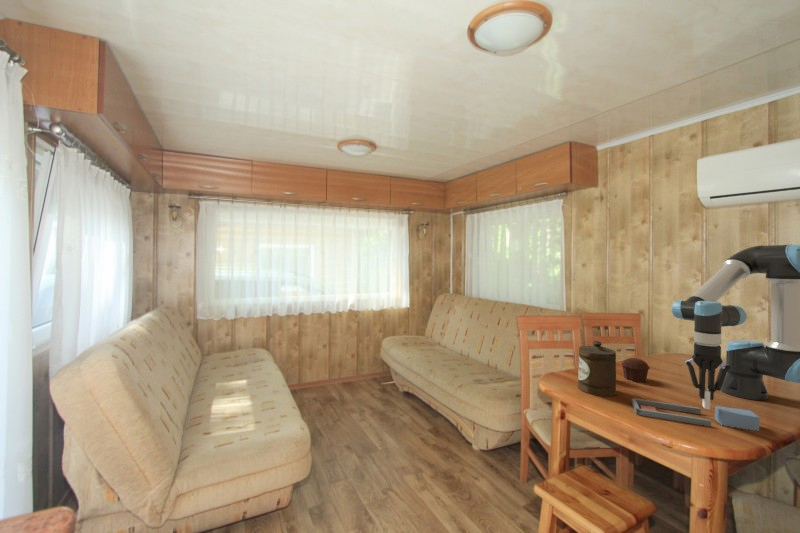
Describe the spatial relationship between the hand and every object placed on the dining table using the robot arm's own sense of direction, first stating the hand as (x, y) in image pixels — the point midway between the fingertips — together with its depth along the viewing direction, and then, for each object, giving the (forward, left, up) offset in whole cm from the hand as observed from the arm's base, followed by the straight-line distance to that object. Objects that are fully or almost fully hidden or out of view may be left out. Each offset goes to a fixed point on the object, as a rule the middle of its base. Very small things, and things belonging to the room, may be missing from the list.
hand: (706, 407), depth 131 cm
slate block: (-8, 0, -5) cm, 10 cm away
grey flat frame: (+11, 0, -4) cm, 12 cm away
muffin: (+16, -41, -5) cm, 44 cm away
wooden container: (+34, -16, -5) cm, 38 cm away
